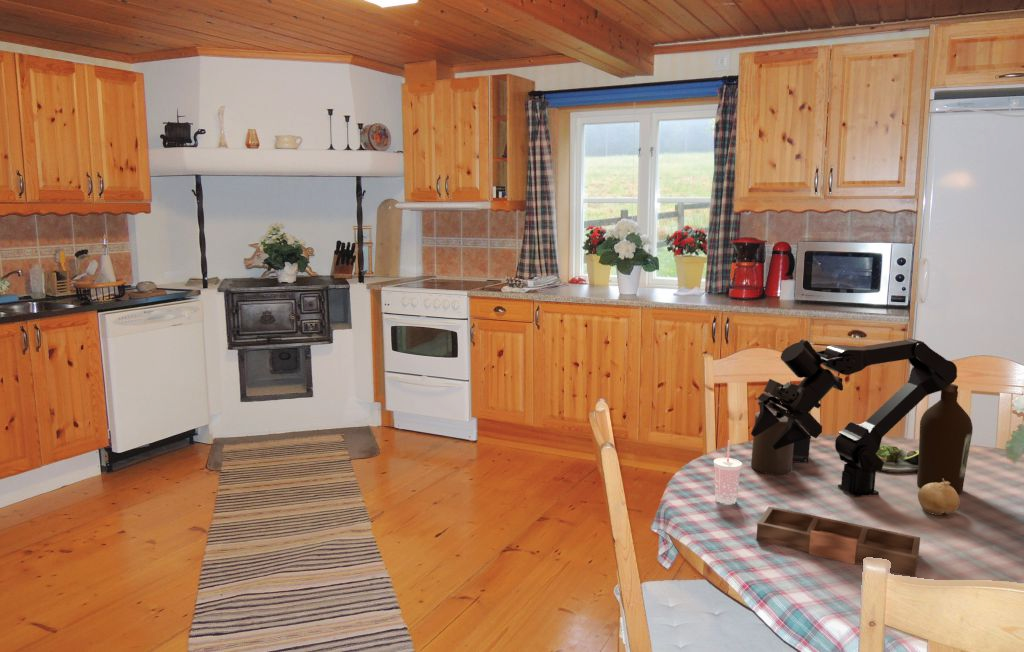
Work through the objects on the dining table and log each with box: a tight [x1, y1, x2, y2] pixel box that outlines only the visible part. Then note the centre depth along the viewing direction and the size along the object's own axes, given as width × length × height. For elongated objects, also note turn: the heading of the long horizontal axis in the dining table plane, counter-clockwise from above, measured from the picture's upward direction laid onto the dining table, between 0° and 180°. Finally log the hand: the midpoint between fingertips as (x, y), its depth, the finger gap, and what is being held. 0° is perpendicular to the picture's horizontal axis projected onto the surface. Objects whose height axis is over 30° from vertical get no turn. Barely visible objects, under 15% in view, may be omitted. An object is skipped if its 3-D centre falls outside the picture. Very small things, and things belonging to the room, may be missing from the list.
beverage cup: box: [713, 439, 743, 505], centre depth 170 cm, size 6×6×14 cm
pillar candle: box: [750, 411, 794, 476], centre depth 190 cm, size 10×10×15 cm
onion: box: [917, 478, 961, 516], centre depth 165 cm, size 8×8×7 cm
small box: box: [792, 436, 812, 464], centre depth 200 cm, size 11×6×10 cm, turn 168°
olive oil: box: [916, 383, 973, 496], centre depth 177 cm, size 11×11×25 cm
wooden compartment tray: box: [755, 506, 921, 577], centre depth 148 cm, size 28×11×4 cm, turn 59°
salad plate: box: [876, 445, 919, 473], centre depth 196 cm, size 19×18×5 cm
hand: (762, 441), depth 170 cm, fingers open, 9 cm apart
